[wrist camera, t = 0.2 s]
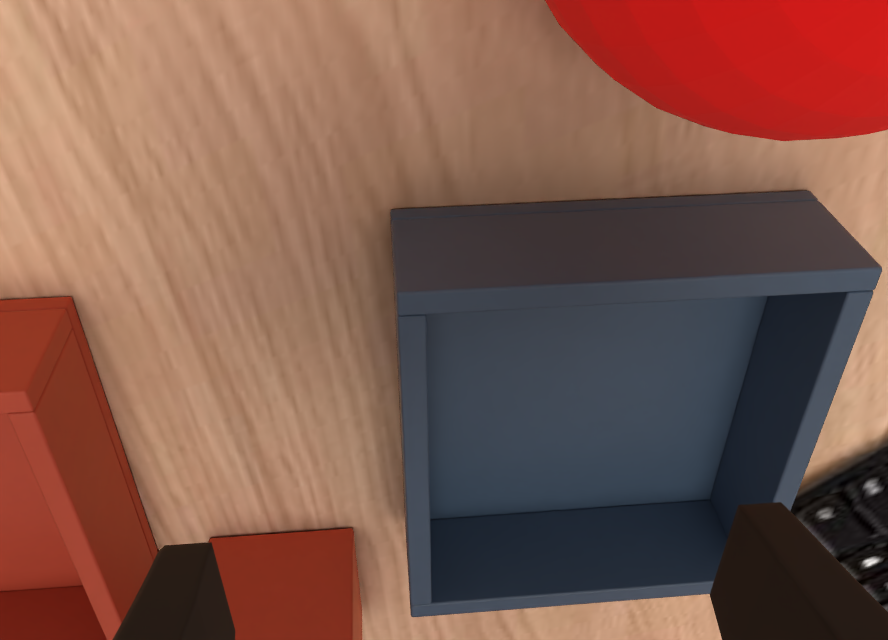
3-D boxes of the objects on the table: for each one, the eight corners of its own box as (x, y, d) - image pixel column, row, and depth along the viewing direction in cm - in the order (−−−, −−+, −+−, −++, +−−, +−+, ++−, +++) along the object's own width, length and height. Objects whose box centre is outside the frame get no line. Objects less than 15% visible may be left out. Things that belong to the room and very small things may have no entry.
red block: (362, 610, 28) (362, 740, 25) (231, 620, 28) (213, 753, 25) (353, 527, 26) (352, 658, 22) (208, 537, 25) (185, 672, 22)
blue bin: (718, 498, 26) (760, 590, 24) (404, 520, 26) (411, 618, 23) (810, 189, 20) (884, 267, 17) (389, 208, 19) (395, 293, 16)
